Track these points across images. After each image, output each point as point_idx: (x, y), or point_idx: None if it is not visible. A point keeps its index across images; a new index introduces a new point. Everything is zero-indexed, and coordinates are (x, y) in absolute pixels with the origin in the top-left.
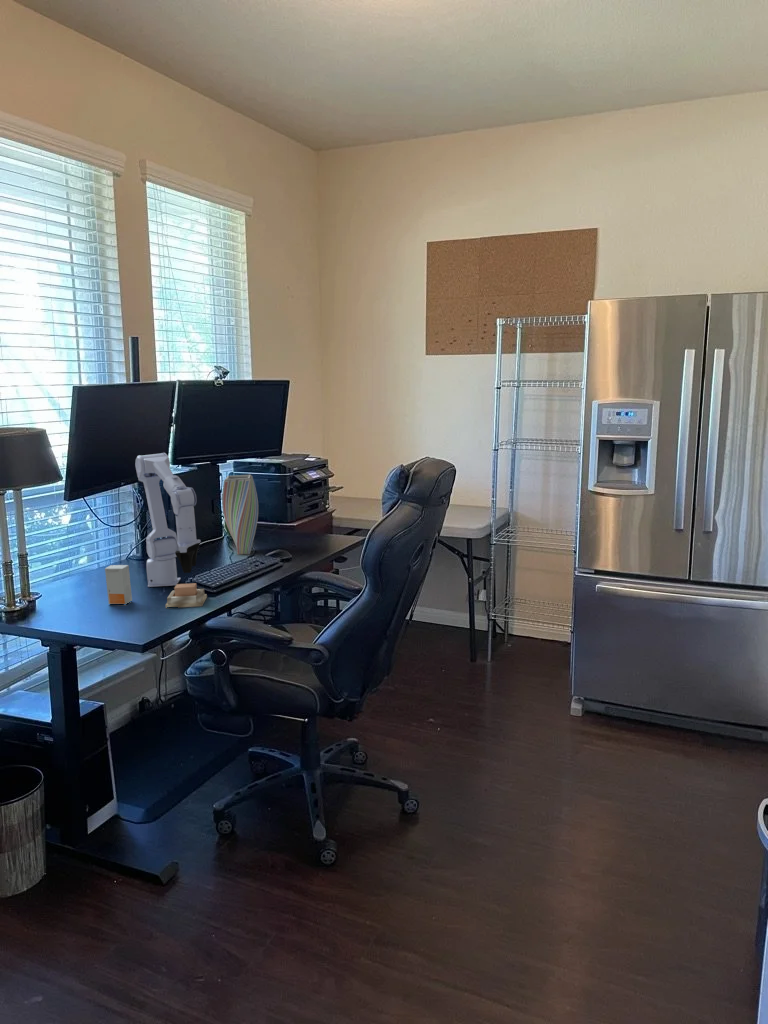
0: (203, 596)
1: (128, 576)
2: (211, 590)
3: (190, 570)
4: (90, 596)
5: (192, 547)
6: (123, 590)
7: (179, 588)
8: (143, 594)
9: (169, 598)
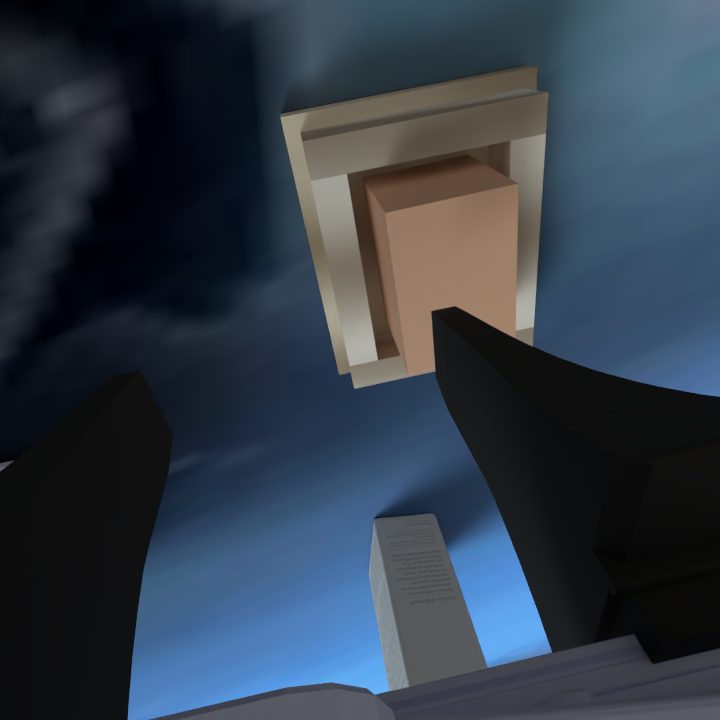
0: (360, 120)
1: (422, 656)
2: (76, 142)
3: (470, 314)
4: (305, 654)
5: (26, 654)
6: (457, 586)
7: (513, 312)
8: (259, 523)
9: (532, 334)
